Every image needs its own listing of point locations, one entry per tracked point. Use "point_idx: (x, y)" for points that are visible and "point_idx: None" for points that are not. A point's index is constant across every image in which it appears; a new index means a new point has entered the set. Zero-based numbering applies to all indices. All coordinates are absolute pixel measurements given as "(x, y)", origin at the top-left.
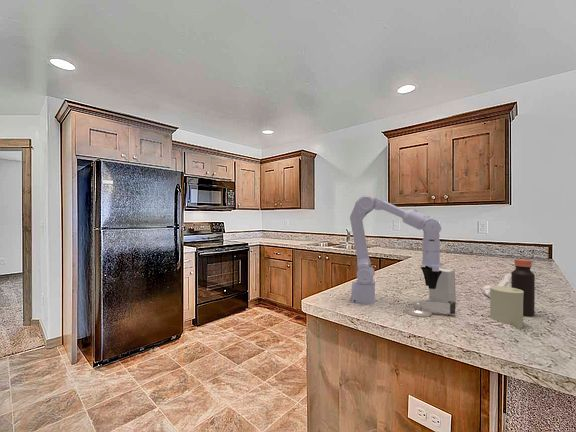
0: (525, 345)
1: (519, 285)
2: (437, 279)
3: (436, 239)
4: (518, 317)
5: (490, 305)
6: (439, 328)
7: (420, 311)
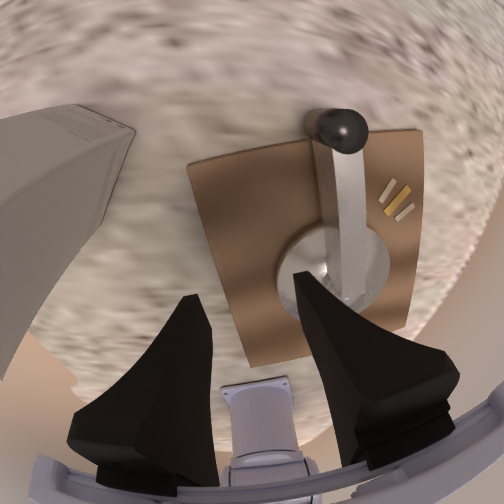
0: None
1: None
2: (365, 320)
3: None
4: None
5: None
6: (431, 191)
7: (366, 269)
